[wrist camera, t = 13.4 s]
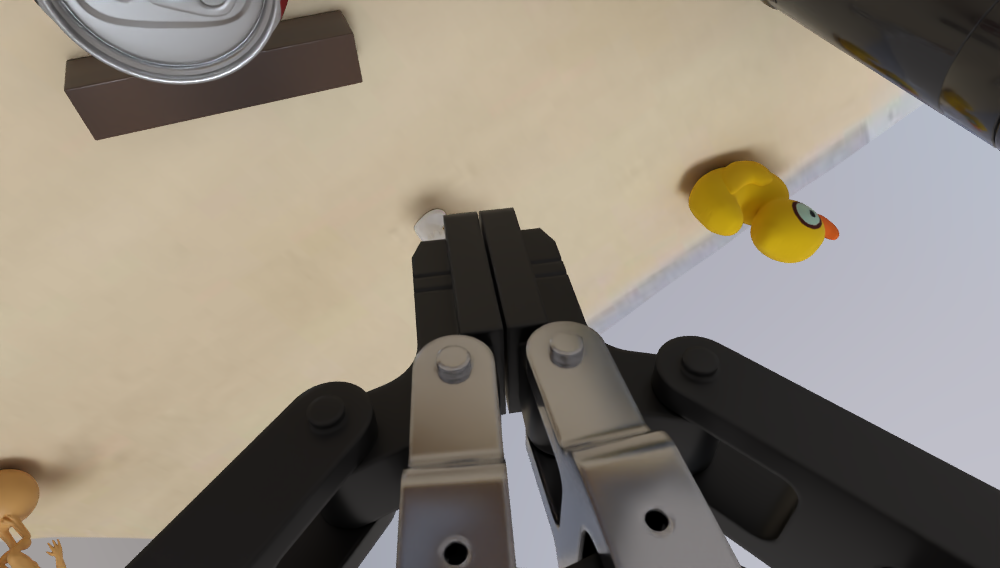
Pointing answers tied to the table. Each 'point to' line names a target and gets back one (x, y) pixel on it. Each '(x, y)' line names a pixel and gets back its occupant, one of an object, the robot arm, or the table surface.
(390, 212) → the table surface
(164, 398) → the table surface
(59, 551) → the figurine
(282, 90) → the rail
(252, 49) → the soda can
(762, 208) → the duckling
